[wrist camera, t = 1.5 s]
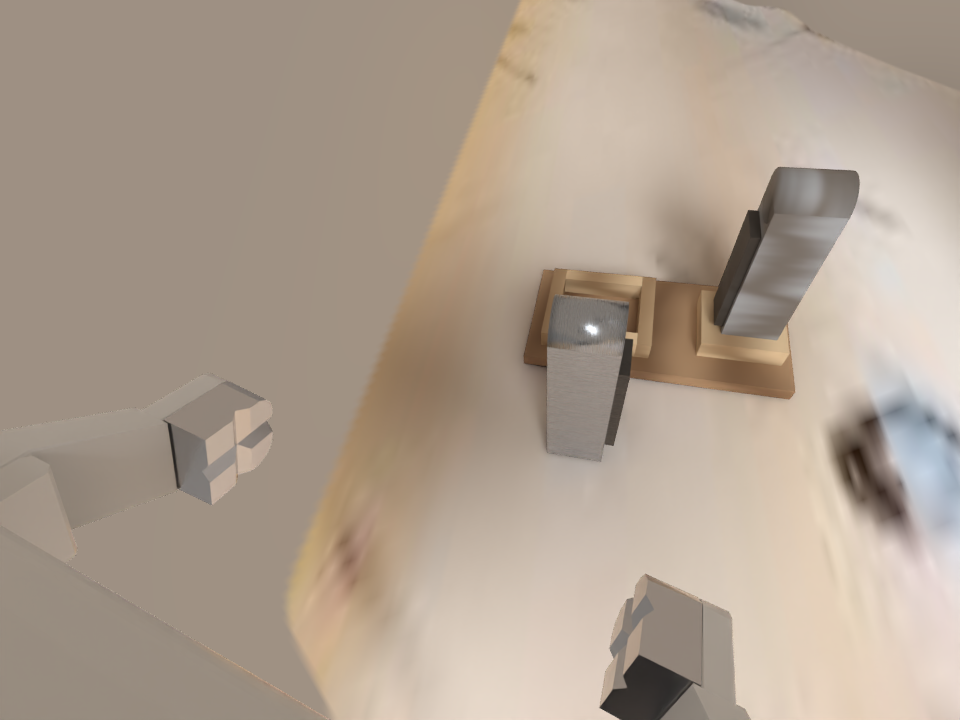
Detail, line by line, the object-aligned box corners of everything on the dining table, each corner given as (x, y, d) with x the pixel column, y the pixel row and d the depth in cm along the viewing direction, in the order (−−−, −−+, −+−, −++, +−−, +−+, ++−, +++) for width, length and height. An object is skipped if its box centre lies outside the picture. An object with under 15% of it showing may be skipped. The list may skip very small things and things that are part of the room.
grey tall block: (614, 423, 36) (643, 290, 25) (609, 463, 35) (639, 339, 24) (553, 414, 37) (556, 281, 26) (546, 452, 36) (547, 328, 25)
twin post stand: (779, 301, 41) (874, 127, 29) (789, 399, 36) (908, 237, 24) (543, 278, 45) (543, 116, 33) (524, 363, 40) (515, 209, 28)
